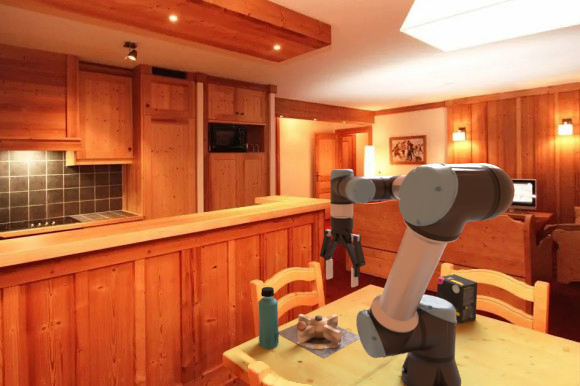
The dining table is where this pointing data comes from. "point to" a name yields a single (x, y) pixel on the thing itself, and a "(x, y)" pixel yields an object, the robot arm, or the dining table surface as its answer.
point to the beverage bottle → (268, 319)
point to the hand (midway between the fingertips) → (341, 282)
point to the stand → (320, 341)
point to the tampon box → (459, 295)
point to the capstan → (318, 328)
